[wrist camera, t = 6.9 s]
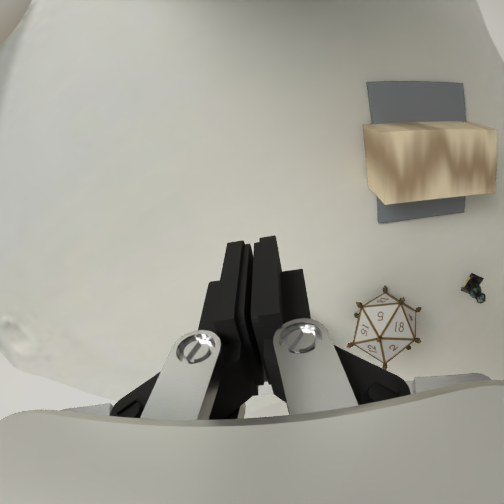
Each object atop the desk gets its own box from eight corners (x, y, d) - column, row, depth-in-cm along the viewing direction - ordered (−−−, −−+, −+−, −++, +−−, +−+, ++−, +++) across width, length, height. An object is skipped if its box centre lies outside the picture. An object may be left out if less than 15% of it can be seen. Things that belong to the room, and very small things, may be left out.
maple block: (380, 132, 22) (496, 130, 20) (362, 125, 26) (468, 121, 25) (384, 204, 25) (494, 192, 23) (368, 186, 29) (468, 177, 27)
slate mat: (366, 82, 25) (367, 82, 24) (460, 83, 23) (462, 83, 23) (377, 221, 31) (378, 223, 31) (462, 210, 30) (464, 212, 29)
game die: (381, 279, 39) (447, 299, 30) (367, 340, 40) (428, 367, 31) (335, 281, 34) (411, 307, 26) (321, 351, 35) (388, 389, 27)
